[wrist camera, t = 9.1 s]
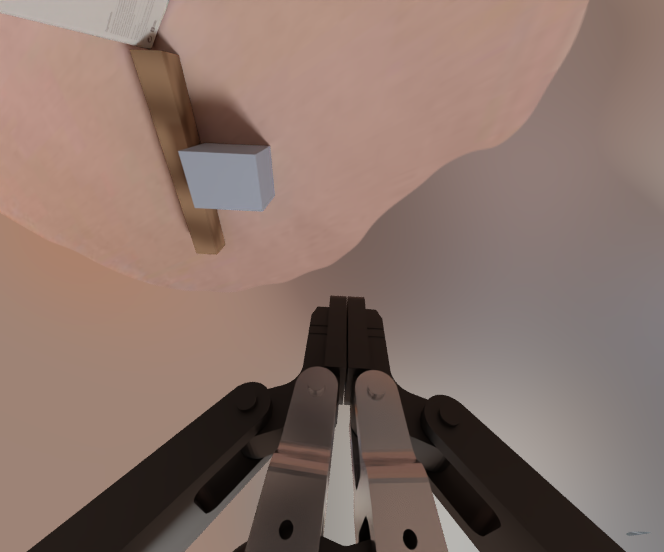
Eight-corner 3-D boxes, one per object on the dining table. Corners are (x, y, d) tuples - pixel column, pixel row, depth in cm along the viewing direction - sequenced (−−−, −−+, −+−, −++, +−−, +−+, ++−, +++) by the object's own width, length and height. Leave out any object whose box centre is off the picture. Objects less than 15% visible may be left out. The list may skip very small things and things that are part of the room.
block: (205, 142, 31) (178, 151, 26) (270, 145, 30) (255, 154, 25) (216, 192, 34) (194, 207, 29) (275, 195, 34) (262, 211, 29)
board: (150, 54, 26) (129, 49, 23) (178, 55, 26) (160, 50, 23) (206, 243, 39) (196, 253, 36) (225, 244, 38) (217, 254, 36)
